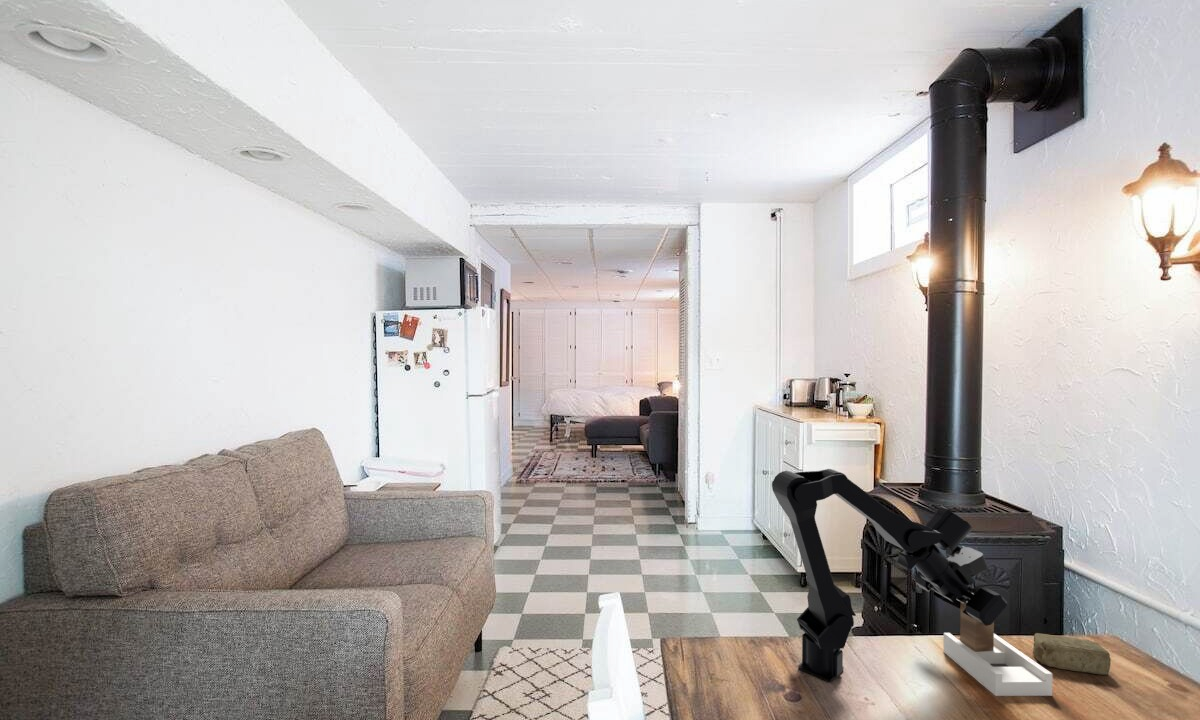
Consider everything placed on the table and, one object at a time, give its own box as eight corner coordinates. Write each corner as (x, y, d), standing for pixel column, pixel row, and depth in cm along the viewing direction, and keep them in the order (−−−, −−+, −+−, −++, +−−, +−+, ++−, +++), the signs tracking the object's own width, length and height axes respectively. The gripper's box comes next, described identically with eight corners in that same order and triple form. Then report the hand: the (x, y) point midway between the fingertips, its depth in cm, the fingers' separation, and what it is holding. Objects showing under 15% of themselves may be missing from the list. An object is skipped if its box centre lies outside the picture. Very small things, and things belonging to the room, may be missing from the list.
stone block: (1113, 678, 107) (1113, 652, 107) (1041, 668, 111) (1041, 643, 111) (1096, 663, 113) (1096, 638, 113) (1029, 654, 116) (1029, 630, 116)
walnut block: (975, 651, 112) (976, 597, 111) (960, 641, 115) (960, 588, 115) (993, 650, 112) (994, 596, 112) (977, 640, 116) (978, 587, 116)
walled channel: (995, 695, 101) (995, 673, 101) (943, 651, 116) (943, 632, 116) (1052, 695, 101) (1052, 673, 101) (992, 651, 116) (993, 632, 116)
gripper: (999, 553, 104) (1050, 609, 105) (927, 523, 122) (972, 571, 124) (960, 597, 103) (1012, 653, 104) (893, 560, 121) (939, 608, 123)
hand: (983, 617), depth 114 cm, fingers closed on walnut block, 4 cm apart
